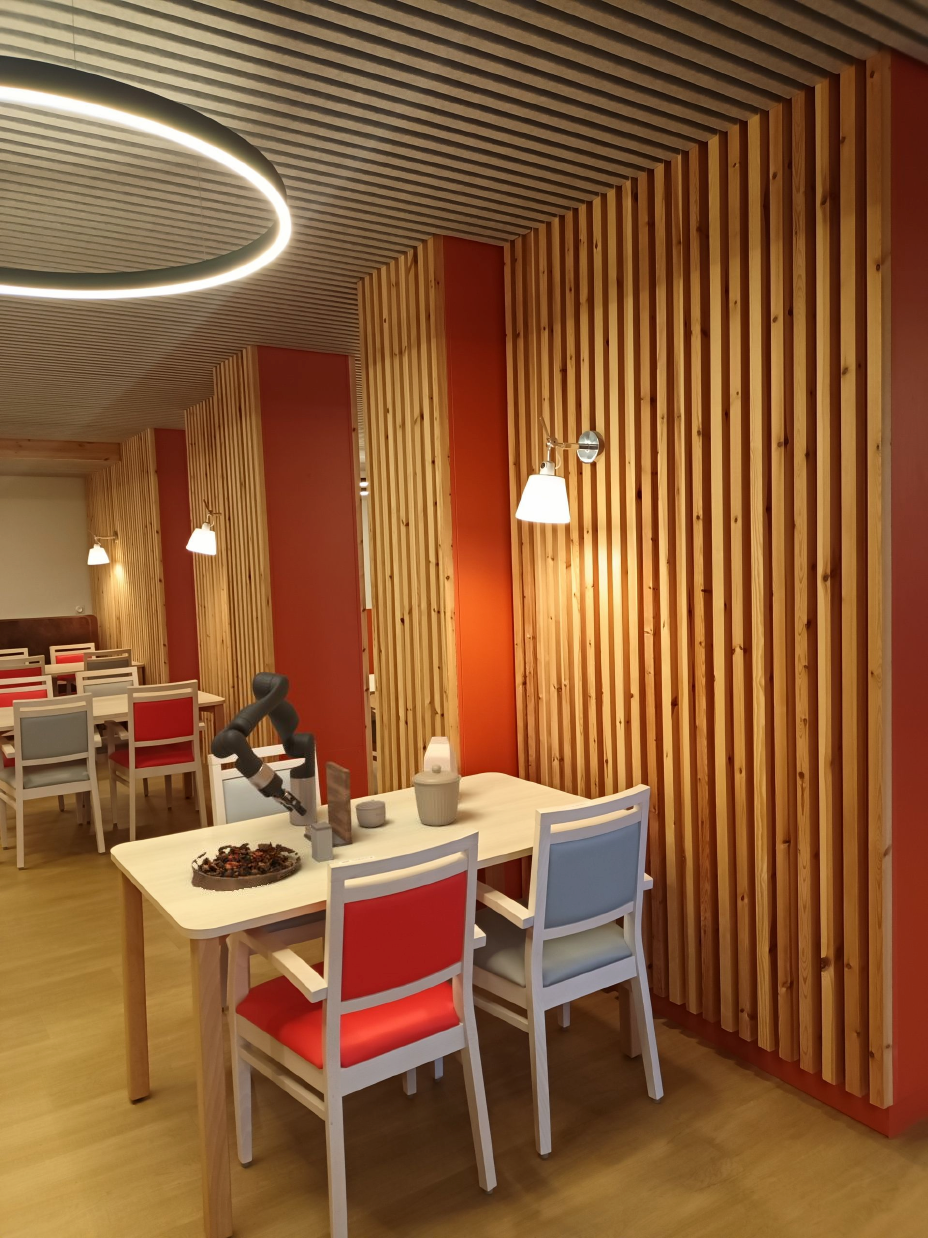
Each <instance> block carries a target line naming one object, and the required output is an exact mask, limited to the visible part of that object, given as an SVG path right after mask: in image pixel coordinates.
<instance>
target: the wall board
mask: <svg viewBox="0 0 928 1238" xmlns="http://www.w3.org/2000/svg"><path fill="white" fill-rule="evenodd" d="M325 769H326V793H327V795H326V796H327V797H326V798H327V821H328V822H327V823H328V824H330V825H331V826H332V849H333V848H338V847H344V846H350V845H353V834H352V833H353V831H352V829H353V828H352V827H353V826H352V807H351V806H352V805H351V804H352V803H351V801H352V799H351V779H350V778H351V777H350V776H351V774H350V770H349V769H346V768H344V767H342V766H341V765H339V764H338V763H335V762H333V761H327V762H325ZM304 829H305V830H304V833H303V837H304V838H305V839H307V840H308V841H310V842H311V825H304Z"/></svg>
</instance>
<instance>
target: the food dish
mask: <svg viewBox="0 0 928 1238" xmlns="http://www.w3.org/2000/svg"><path fill="white" fill-rule="evenodd" d="M249 845H250V844H249V842H246V843H245V842H244V843H242V844H241V845H240V846H237V845H233V846H232V844H229V845H228V844H227V845H223V846H220V847H218V849H217V852H218V854H215V858H213V860H212V861H211V859H210V858H209V857H205V858H203V857H204V856H205V855H206V854H207V852H206V851H204V852H203V853H201V854H200V855H198V856H197V858H195V859H193V860H192V861H191V869H192V871H193V875H192V880H191V882H190V883H191V885H192V887H194V888H200V887H201V889H202V888H203V889H202V890H205V889H206V890H205V891H213V890H215V891H214V892H225V891H232V892H235V891H234V890H237V891H240V890H239V889H242V890H245V889H244V888H250V889H253V888H252V887H255V888H258V887H257V886H261V885H266V886H267V884H268V883H269V884H273V883H272V882H274V883H276V882H278V881H279V880H281V879H283V877H284V876H286V875H287V874H288V875H290V874H289V873H291V874H293V872H294V870H295V869H296V868H297V867H298V865H299V864H300V863H301V860H302V859H301V855H298V854H299V852H297V851H296V850H294V849H293V848H289V847H287V846H283V845H282V844H280V843H277V844H275V846H273V844H272V841H269V843H262V842H261V843H258V844H257V848H256V849H255V850H251V848H250V847H249ZM227 849H229V850H228V851H227V853H226V851H225V850H227ZM282 853H287V855H285V854H282ZM294 853H295V854H294ZM289 854H290V855H291V854H294V855H295V856H297V855H298V856H297V857H296V858H295V862H294V861H292V860H290V859H289V858H290V857H289ZM201 858H203V859H202V863H200V864H198V861H197V860H199V859H201ZM193 863H195V864H196V865H197V868H196V867H194V865H193ZM288 875H287V876H288ZM287 876H286V877H287ZM280 878H281V879H280ZM284 878H285V877H284ZM278 879H279V880H278ZM275 881H276V882H275ZM269 884H268V885H269ZM261 887H262V886H261Z"/></svg>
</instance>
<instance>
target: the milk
mask: <svg viewBox="0 0 928 1238" xmlns="http://www.w3.org/2000/svg"><path fill="white" fill-rule="evenodd" d="M429 741H430V742H429V744H428V746H427V749H426V750H425V751H426V752H425V753H424V755H423V756H424V757H423V772H424V771H429V770H431V768H432V766H433V765H440V766H441V770H449V771H453V772H456V773H457V774H459V773H458V764H457V753H456V750H455V749H454V747H453V746H452V744H451V742H450V740H449V737H448V736H432V737H431V739H430V740H429ZM460 799H461V797H460V796H459V797H458V800H460Z"/></svg>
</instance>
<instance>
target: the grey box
mask: <svg viewBox="0 0 928 1238" xmlns="http://www.w3.org/2000/svg"><path fill="white" fill-rule="evenodd" d="M310 827H311V843H310V844H311V846H310V847H311V859H313V860H314V861H315V862H316V863H323V862H330V861H333V860H334V854H333V852H334V851H333V850H334V849H333V848H332V826H331V825H330V824H328V822H327V821H320V822H316V823H313V824H310Z"/></svg>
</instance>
